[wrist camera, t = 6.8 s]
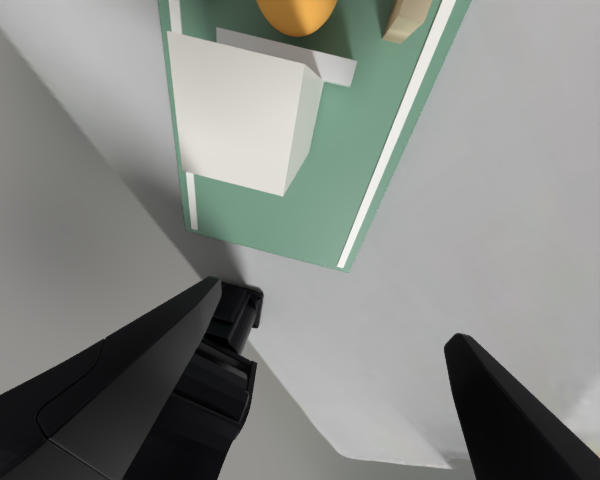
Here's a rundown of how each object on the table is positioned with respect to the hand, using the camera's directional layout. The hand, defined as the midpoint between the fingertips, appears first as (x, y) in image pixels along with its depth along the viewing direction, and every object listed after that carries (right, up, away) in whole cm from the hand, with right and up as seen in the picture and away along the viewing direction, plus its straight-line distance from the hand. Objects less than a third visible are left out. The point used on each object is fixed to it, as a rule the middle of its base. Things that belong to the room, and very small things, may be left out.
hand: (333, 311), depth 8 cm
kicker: (-2, +11, +6) cm, 12 cm away
